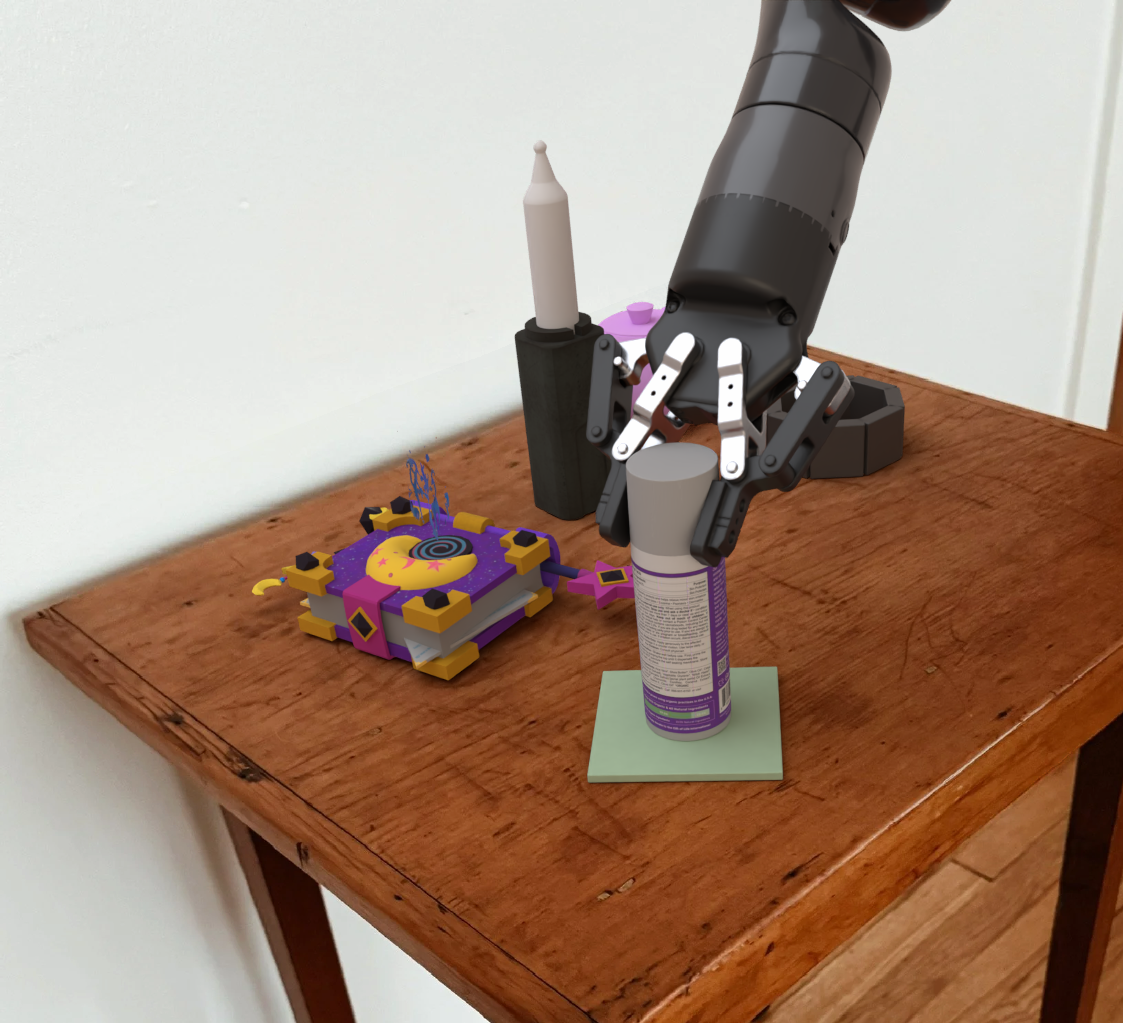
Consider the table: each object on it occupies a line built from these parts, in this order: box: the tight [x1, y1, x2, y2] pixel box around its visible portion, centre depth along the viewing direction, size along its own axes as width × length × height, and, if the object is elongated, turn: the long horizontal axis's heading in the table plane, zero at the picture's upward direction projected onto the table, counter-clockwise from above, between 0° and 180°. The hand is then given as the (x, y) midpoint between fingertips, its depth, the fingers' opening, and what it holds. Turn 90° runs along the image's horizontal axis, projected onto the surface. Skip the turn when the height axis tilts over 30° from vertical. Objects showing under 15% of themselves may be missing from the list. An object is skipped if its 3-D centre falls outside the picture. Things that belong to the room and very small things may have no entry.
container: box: [626, 441, 731, 741], centre depth 67 cm, size 5×5×15 cm
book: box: [251, 430, 635, 681], centre depth 80 cm, size 14×25×12 cm, turn 54°
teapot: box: [597, 301, 670, 420], centre depth 105 cm, size 10×15×9 cm
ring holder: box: [766, 374, 906, 480], centre depth 98 cm, size 10×10×4 cm
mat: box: [586, 666, 784, 783], centre depth 71 cm, size 10×10×1 cm
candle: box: [514, 139, 612, 521], centre depth 89 cm, size 5×5×25 cm
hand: (657, 549), depth 63 cm, fingers closed on container, 4 cm apart
